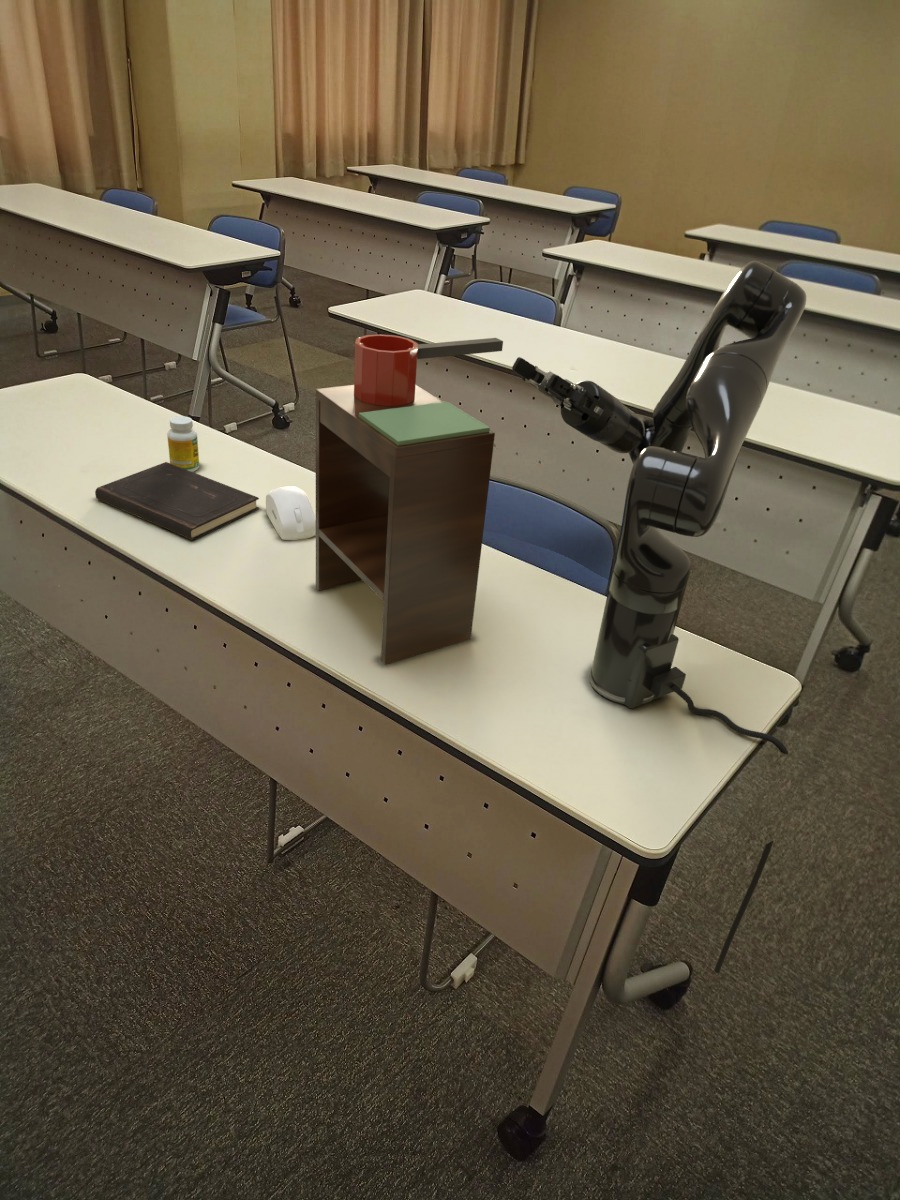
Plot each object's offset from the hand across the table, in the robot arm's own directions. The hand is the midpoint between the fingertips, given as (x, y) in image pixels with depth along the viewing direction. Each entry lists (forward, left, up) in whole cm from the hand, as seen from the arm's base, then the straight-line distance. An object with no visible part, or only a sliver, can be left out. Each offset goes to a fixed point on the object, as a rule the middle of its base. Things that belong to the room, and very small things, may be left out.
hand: (533, 371), depth 124 cm
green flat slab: (-11, +25, -1) cm, 28 cm away
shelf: (-5, +25, -32) cm, 41 cm away
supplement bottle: (+56, +36, -32) cm, 74 cm away
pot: (0, +18, -1) cm, 18 cm away
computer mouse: (+27, +27, -32) cm, 50 cm away
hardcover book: (+41, +42, -32) cm, 67 cm away
